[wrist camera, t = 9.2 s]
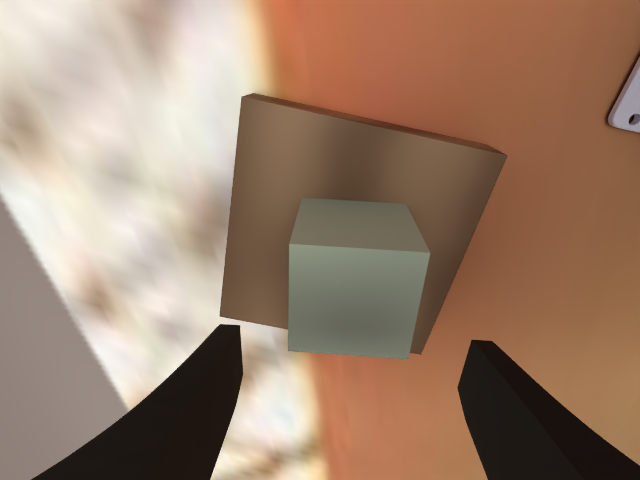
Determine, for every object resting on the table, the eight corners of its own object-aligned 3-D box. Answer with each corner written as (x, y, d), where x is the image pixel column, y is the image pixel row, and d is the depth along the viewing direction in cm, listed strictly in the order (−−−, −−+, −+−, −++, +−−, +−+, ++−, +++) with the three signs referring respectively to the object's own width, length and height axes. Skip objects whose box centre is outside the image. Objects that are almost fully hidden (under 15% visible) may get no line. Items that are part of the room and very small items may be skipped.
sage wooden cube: (405, 203, 17) (430, 252, 13) (391, 291, 19) (408, 359, 15) (301, 197, 17) (289, 243, 13) (299, 285, 19) (288, 351, 15)
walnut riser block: (482, 142, 19) (507, 155, 16) (411, 322, 24) (420, 354, 21) (255, 92, 18) (241, 96, 15) (233, 287, 23) (219, 316, 21)
